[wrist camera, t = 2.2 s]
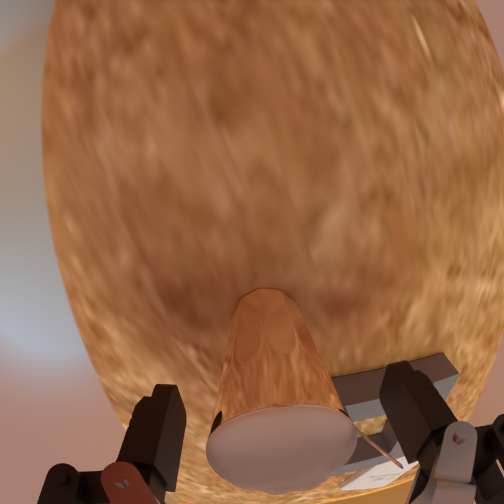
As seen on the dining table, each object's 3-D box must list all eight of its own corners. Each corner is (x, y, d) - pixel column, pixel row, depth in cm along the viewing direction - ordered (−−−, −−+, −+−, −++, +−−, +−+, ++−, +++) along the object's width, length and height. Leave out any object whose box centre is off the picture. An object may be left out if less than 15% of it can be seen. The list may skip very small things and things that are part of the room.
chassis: (266, 385, 16) (269, 420, 14) (442, 352, 16) (461, 376, 14) (270, 461, 20) (272, 486, 17) (403, 434, 20) (412, 455, 17)
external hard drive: (450, 423, 22) (382, 478, 25) (412, 422, 20) (337, 481, 24) (456, 432, 20) (385, 487, 24) (418, 434, 19) (339, 491, 22)
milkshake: (336, 318, 15) (409, 483, 5) (249, 360, 15) (256, 529, 6) (300, 250, 13) (391, 437, 4) (203, 301, 14) (163, 495, 5)
